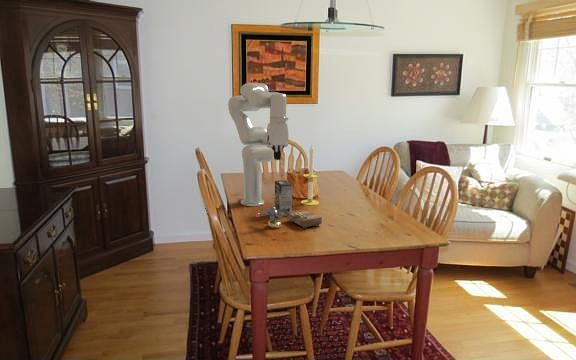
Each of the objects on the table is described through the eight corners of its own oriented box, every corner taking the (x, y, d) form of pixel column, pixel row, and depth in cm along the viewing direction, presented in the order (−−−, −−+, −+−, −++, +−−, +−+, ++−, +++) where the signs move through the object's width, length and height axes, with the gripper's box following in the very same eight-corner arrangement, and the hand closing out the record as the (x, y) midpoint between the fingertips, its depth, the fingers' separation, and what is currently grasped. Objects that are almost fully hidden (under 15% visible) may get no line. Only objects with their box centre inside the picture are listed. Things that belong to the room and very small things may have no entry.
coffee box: (273, 211, 235) (274, 180, 231) (285, 210, 237) (286, 179, 233) (279, 216, 226) (280, 184, 222) (292, 215, 228) (293, 184, 225)
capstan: (264, 234, 200) (264, 214, 198) (247, 224, 212) (247, 205, 210) (295, 228, 209) (295, 209, 207) (277, 219, 221) (277, 200, 219)
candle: (309, 206, 244) (311, 146, 236) (297, 202, 252) (298, 143, 244) (322, 203, 250) (325, 144, 243) (310, 199, 258) (312, 141, 250)
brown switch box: (287, 220, 220) (287, 209, 219) (304, 217, 225) (304, 206, 224) (303, 229, 209) (304, 217, 207) (321, 226, 214) (321, 214, 213)
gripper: (287, 119, 220) (286, 156, 224) (259, 120, 212) (259, 159, 216) (295, 120, 213) (294, 159, 218) (268, 122, 206) (267, 162, 210)
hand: (277, 159), depth 217 cm, fingers closed
